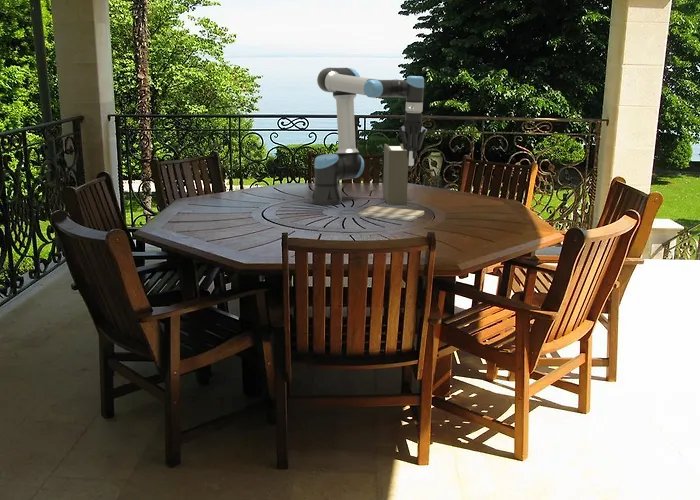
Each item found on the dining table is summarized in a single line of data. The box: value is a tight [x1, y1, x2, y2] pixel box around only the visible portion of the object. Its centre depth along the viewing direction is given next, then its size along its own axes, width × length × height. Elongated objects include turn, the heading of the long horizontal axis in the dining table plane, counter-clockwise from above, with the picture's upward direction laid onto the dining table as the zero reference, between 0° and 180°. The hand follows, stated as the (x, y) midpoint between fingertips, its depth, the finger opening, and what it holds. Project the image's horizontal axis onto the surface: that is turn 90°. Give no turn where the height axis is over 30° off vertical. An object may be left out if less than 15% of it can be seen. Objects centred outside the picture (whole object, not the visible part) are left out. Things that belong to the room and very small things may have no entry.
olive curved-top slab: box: [382, 143, 409, 207], centre depth 327 cm, size 22×9×28 cm, turn 3°
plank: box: [362, 205, 425, 219], centre depth 299 cm, size 26×9×2 cm, turn 65°
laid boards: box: [356, 210, 418, 222], centre depth 292 cm, size 26×6×2 cm, turn 65°
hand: (411, 165), depth 299 cm, fingers closed
